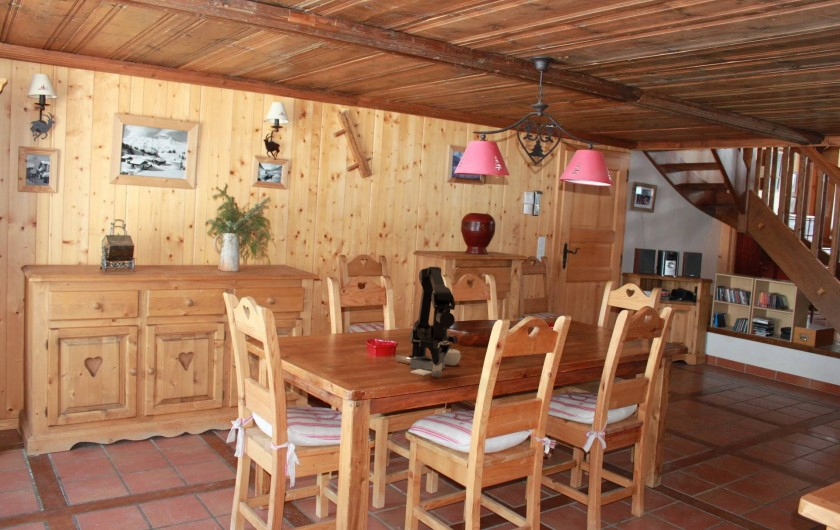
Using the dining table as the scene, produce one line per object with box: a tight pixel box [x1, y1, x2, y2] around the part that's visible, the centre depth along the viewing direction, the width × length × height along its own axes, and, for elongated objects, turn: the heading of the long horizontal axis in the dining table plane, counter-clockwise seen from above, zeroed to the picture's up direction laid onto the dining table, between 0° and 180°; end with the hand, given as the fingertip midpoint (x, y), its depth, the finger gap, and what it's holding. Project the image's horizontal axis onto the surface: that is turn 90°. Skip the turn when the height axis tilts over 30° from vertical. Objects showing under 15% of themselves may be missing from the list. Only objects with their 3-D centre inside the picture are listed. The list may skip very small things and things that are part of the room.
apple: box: [444, 348, 462, 367], centre depth 295 cm, size 8×8×7 cm
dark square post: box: [431, 352, 444, 379], centre depth 272 cm, size 3×3×10 cm
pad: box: [410, 369, 432, 376], centre depth 277 cm, size 6×6×1 cm
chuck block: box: [395, 354, 446, 372], centre depth 288 cm, size 10×20×4 cm, turn 57°
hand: (437, 363), depth 272 cm, fingers closed on dark square post, 3 cm apart
